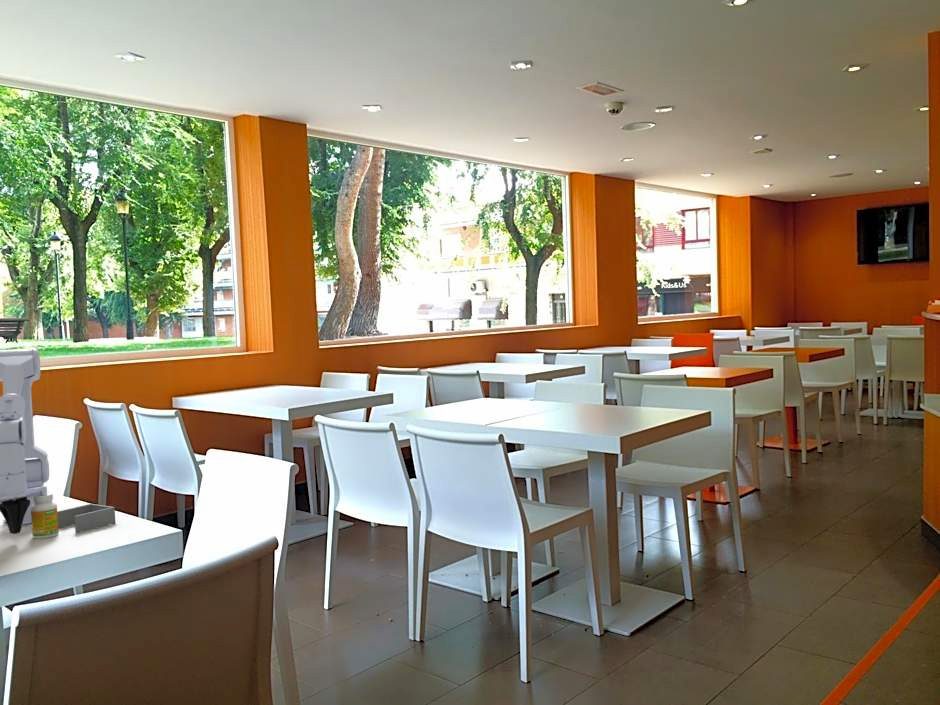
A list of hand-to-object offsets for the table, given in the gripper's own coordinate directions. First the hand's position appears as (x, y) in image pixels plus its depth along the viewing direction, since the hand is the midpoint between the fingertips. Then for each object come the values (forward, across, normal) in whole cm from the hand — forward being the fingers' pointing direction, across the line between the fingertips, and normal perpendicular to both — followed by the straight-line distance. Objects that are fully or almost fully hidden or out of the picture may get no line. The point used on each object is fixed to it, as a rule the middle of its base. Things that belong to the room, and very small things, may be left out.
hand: (15, 532), depth 181 cm
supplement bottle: (+3, +7, 0) cm, 7 cm away
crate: (+2, +16, 0) cm, 16 cm away
